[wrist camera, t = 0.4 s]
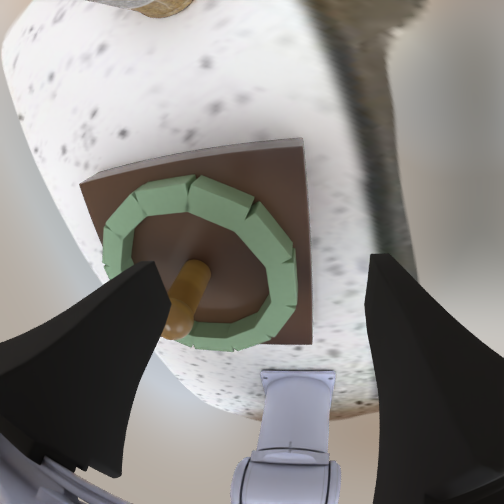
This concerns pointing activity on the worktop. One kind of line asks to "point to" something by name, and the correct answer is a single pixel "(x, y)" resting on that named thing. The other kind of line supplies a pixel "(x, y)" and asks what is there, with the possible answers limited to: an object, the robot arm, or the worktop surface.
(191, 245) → the peg stand
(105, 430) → the robot arm
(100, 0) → the sprinkles bottle
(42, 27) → the worktop surface
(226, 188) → the ring
